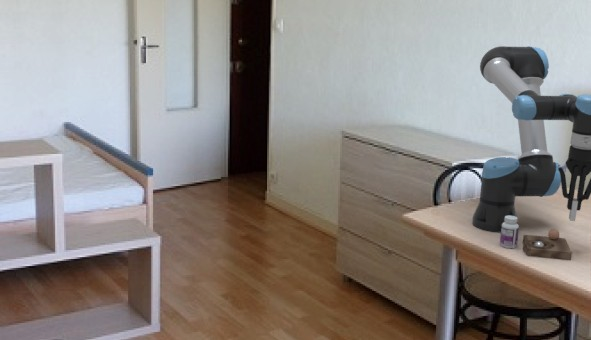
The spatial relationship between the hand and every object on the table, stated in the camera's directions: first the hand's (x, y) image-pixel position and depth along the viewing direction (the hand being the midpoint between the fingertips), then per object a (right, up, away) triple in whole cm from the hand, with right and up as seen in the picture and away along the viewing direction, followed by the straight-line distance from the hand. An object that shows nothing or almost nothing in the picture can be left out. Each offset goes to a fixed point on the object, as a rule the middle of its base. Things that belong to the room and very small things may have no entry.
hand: (571, 219), depth 236 cm
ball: (-10, -9, +2) cm, 13 cm away
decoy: (-3, -5, +6) cm, 9 cm away
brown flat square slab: (-7, -10, +3) cm, 13 cm away
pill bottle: (-18, -9, +7) cm, 21 cm away
